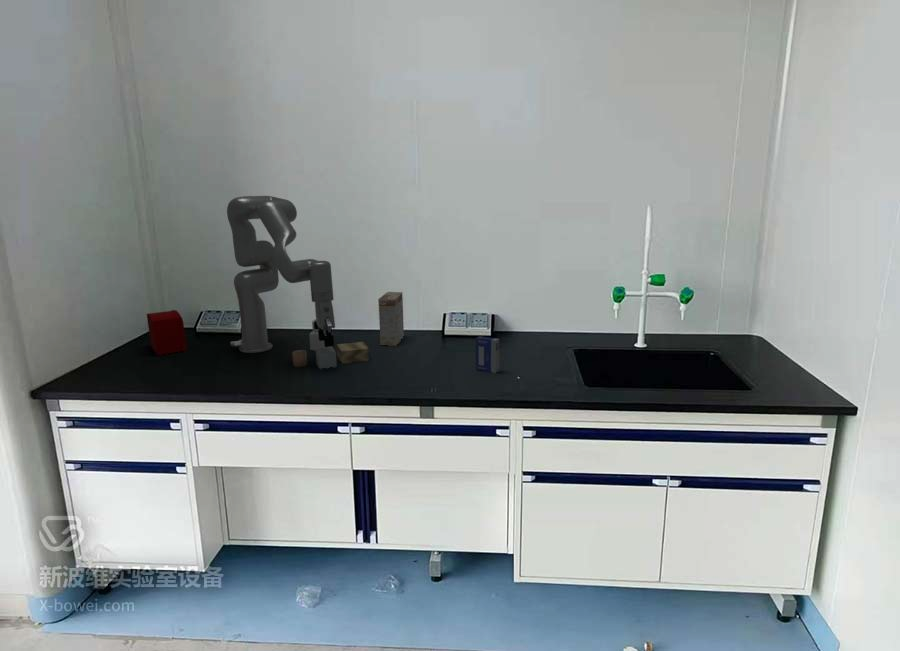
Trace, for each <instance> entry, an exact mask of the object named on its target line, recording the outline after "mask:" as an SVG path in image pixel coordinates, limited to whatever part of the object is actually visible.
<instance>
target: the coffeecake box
mask: <svg viewBox="0 0 900 651" xmlns="http://www.w3.org/2000/svg"><path fill="white" fill-rule="evenodd" d="M377 300H378V319H379V339H380V340H379V341H380V342H379V343H380V345H388V346H387V347H397V346H398V345H399V344H400V342H401V341H402V340H403V338H404V337H405V330H404V327H405V326H404V324H405V323H404V302H403V300H404V298H403V292H402V291H401V292H399V291H387V292H385V293H384V294H383V295H382V296H380V297H379V298H378V299H377ZM403 336H404V337H403ZM401 339H402V340H401ZM397 344H398V345H397Z"/></svg>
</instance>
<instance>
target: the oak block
mask: <svg viewBox="0 0 900 651" xmlns="http://www.w3.org/2000/svg"><path fill="white" fill-rule="evenodd" d="M336 356H337V358H338V359H339V361H340V362H342V363H341V364H342V365H343V363H345V364H353V363H352V362H354V363H360V362H361V361H362V362H369V361H370V350H369V347H368V346H367V345H366V344H365V342H364V341H358V342H349V343H348V342H345V343H338V344H336ZM362 362H361V363H362Z"/></svg>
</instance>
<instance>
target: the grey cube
mask: <svg viewBox="0 0 900 651" xmlns="http://www.w3.org/2000/svg"><path fill="white" fill-rule="evenodd" d="M315 360H316V362H315V363H316V366H317V365H318V366H317V367H318V369H319V368H320V370H322V369H321V368H326V369H331V368H330V367H333V368H337V367H338V366H337V364H338V363H337V350H335V348H334V347H333V346H332V347H328V348H320V349H316V351H315Z"/></svg>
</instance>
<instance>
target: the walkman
mask: <svg viewBox="0 0 900 651" xmlns="http://www.w3.org/2000/svg"><path fill="white" fill-rule="evenodd" d="M475 370H476V371H480V370H481V372H485V371H486V373H491V372H492V374H497V373H499V372H500V339H499V338H493V337H488V336H487V337H486V336H480V335H479V336H477V337H476V338H475ZM496 372H497V373H496Z"/></svg>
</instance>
